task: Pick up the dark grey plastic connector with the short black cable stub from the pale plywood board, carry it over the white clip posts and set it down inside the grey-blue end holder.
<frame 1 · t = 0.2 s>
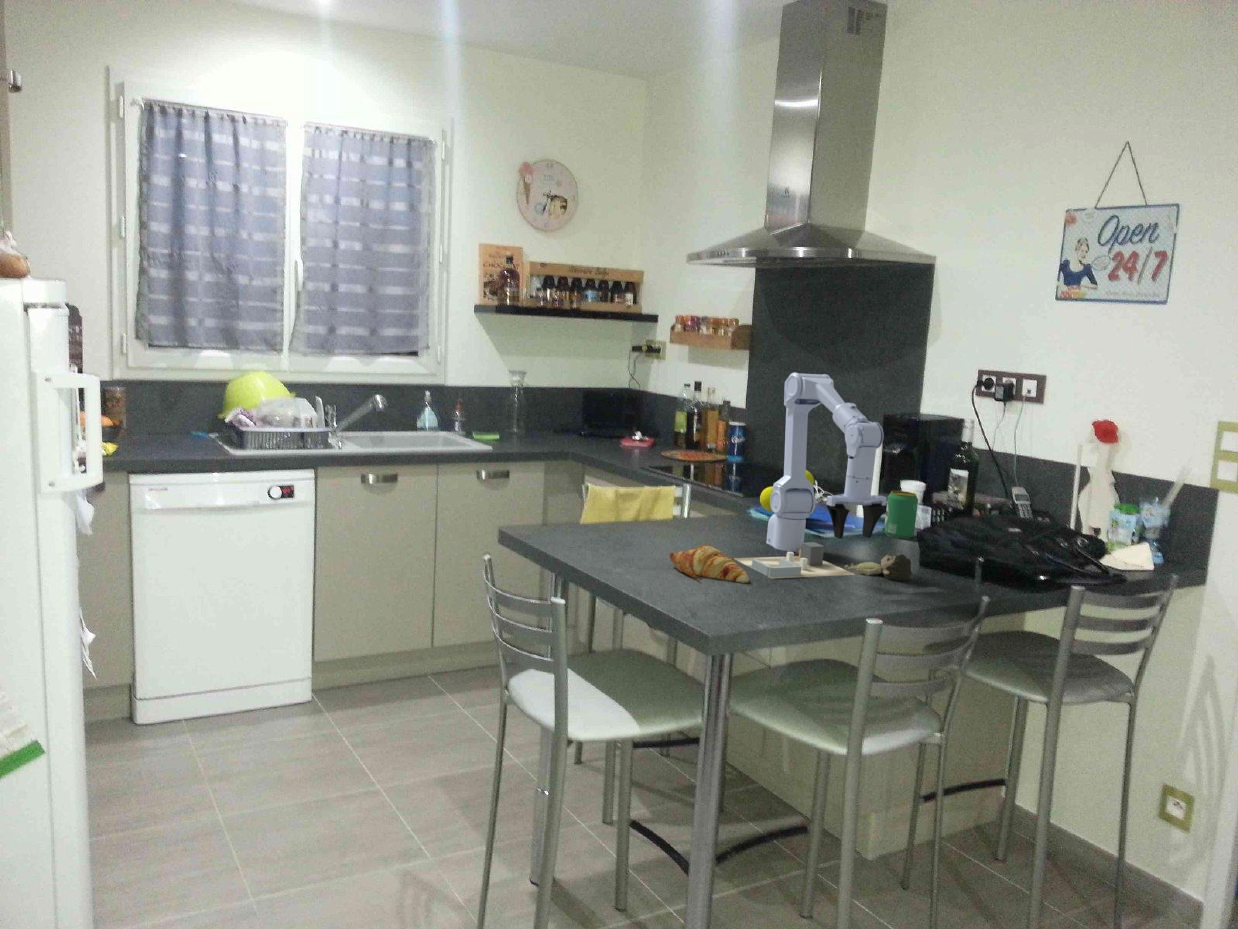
hand: (852, 537, 224), 10 cm above the table, tool pointing down, fingers open, 7 cm apart
route board: (793, 570, 230), on the table
figurine: (876, 579, 230), on the table
end holder: (775, 571, 224), resting on route board
croissant: (707, 578, 220), on the table
beverage can: (898, 536, 278), on the table
clip: (796, 565, 231), resting on route board
toy: (790, 522, 288), on the table
connector: (810, 563, 234), point 1 cm above the table, touching route board
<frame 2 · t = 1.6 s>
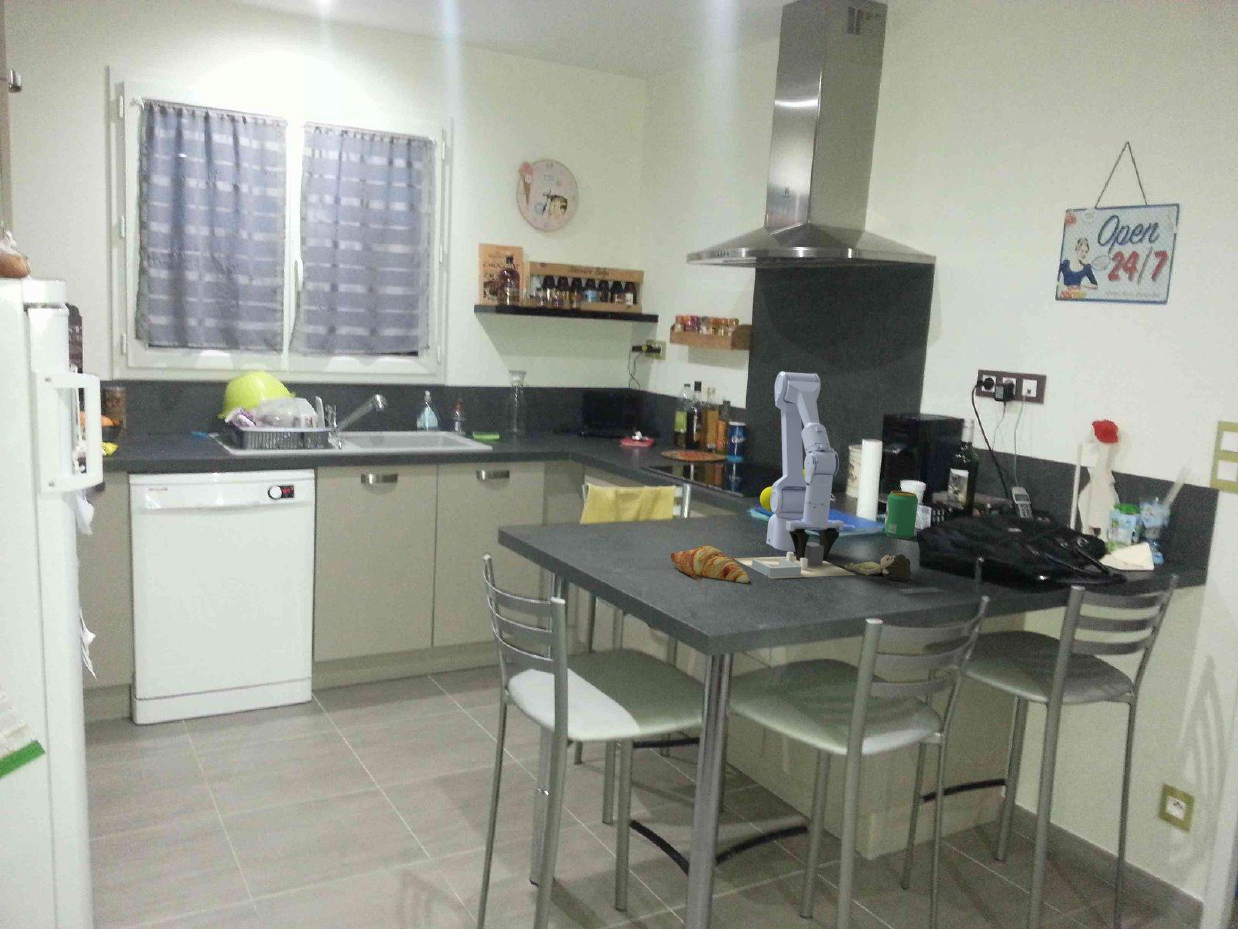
hand: (811, 560, 234), 2 cm above the table, tool pointing down, fingers open, 6 cm apart
nothing on the table moved.
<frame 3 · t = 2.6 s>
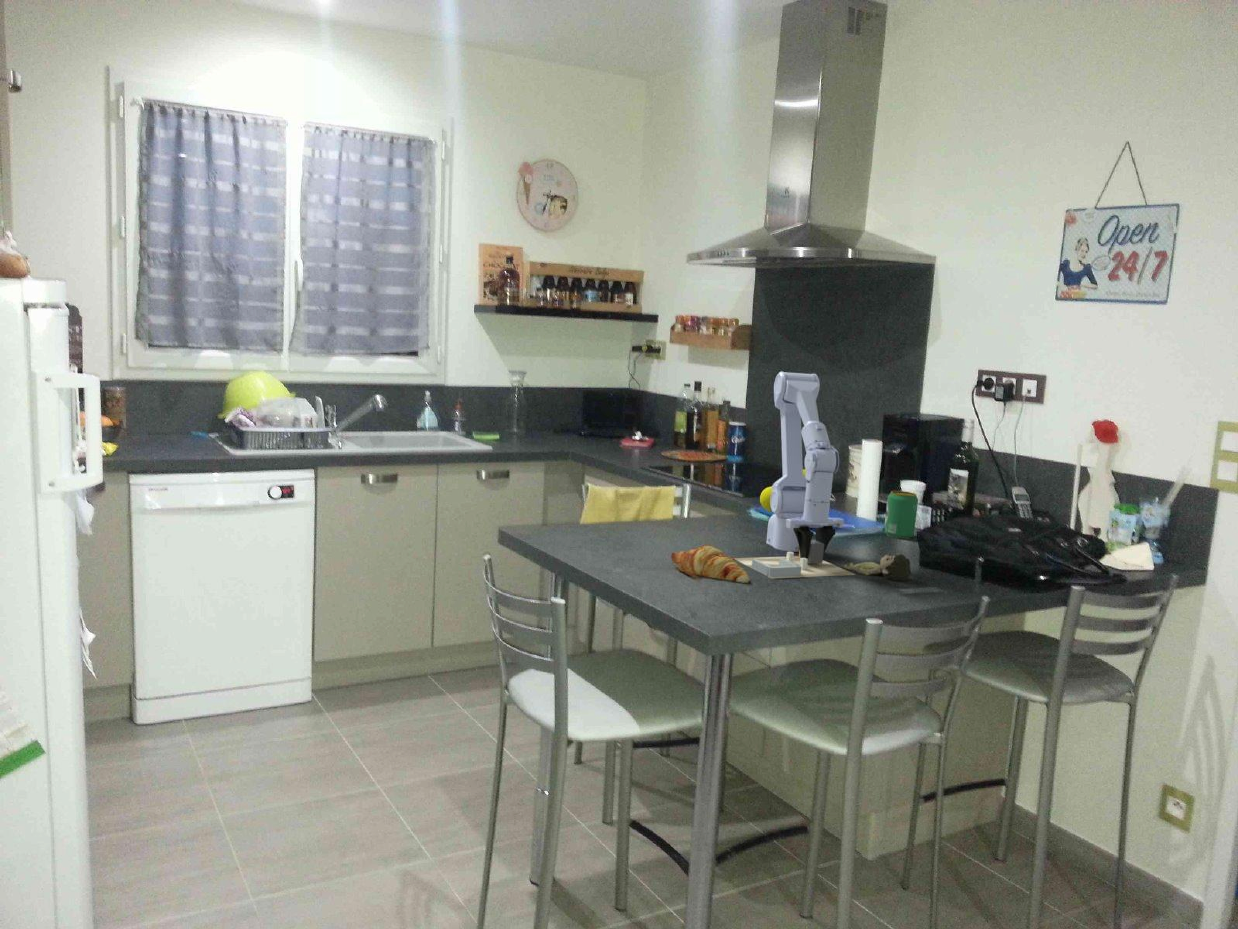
hand: (811, 557, 234), 2 cm above the table, tool pointing down, fingers closed on connector, 3 cm apart
connector: (811, 561, 234), point 2 cm above the table, touching gripper
everything else where it was.
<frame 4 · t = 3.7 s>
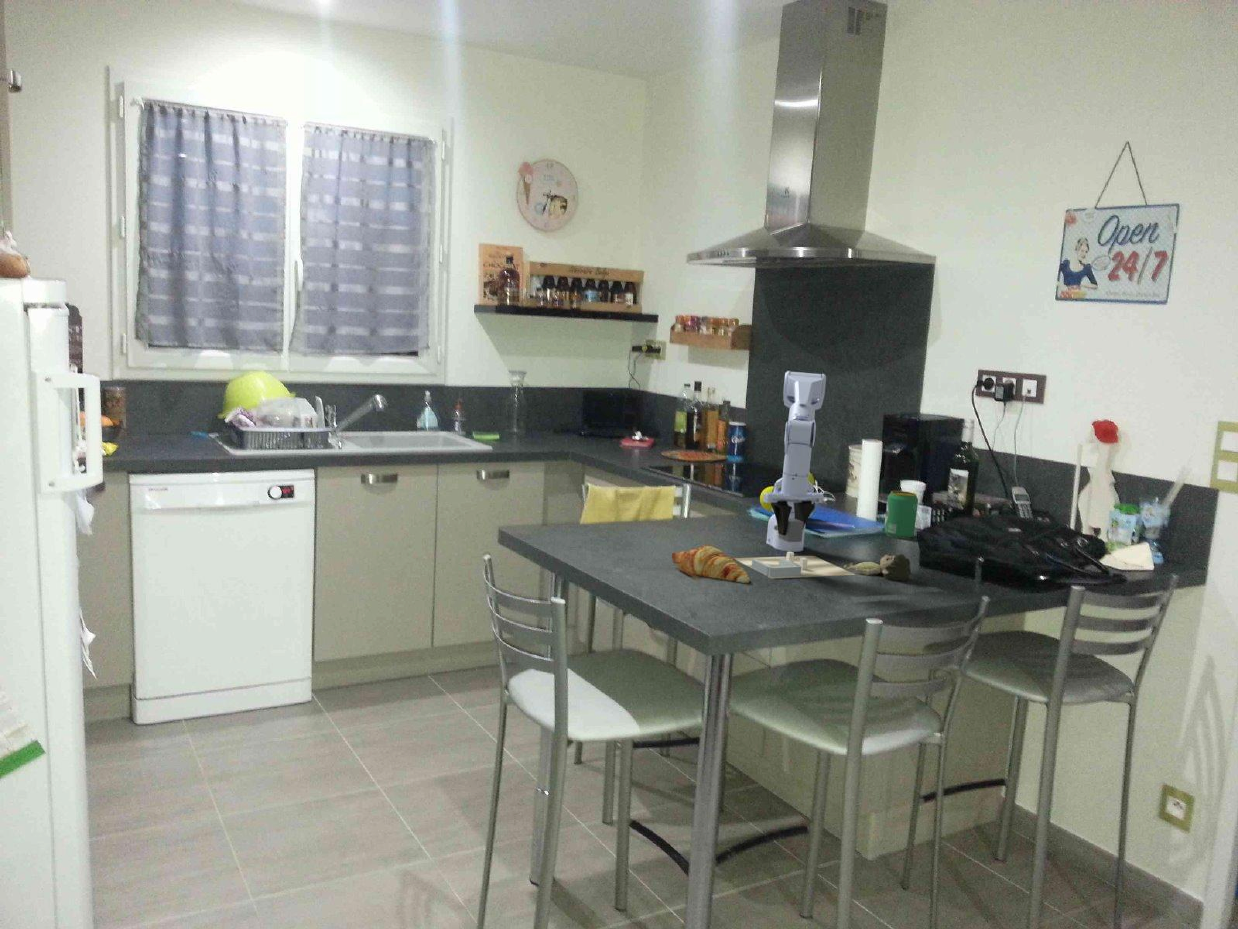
hand: (789, 534, 226), 9 cm above the table, tool pointing down, fingers closed on connector, 3 cm apart
connector: (789, 539, 226), point 8 cm above the table, touching gripper
everything else where it was.
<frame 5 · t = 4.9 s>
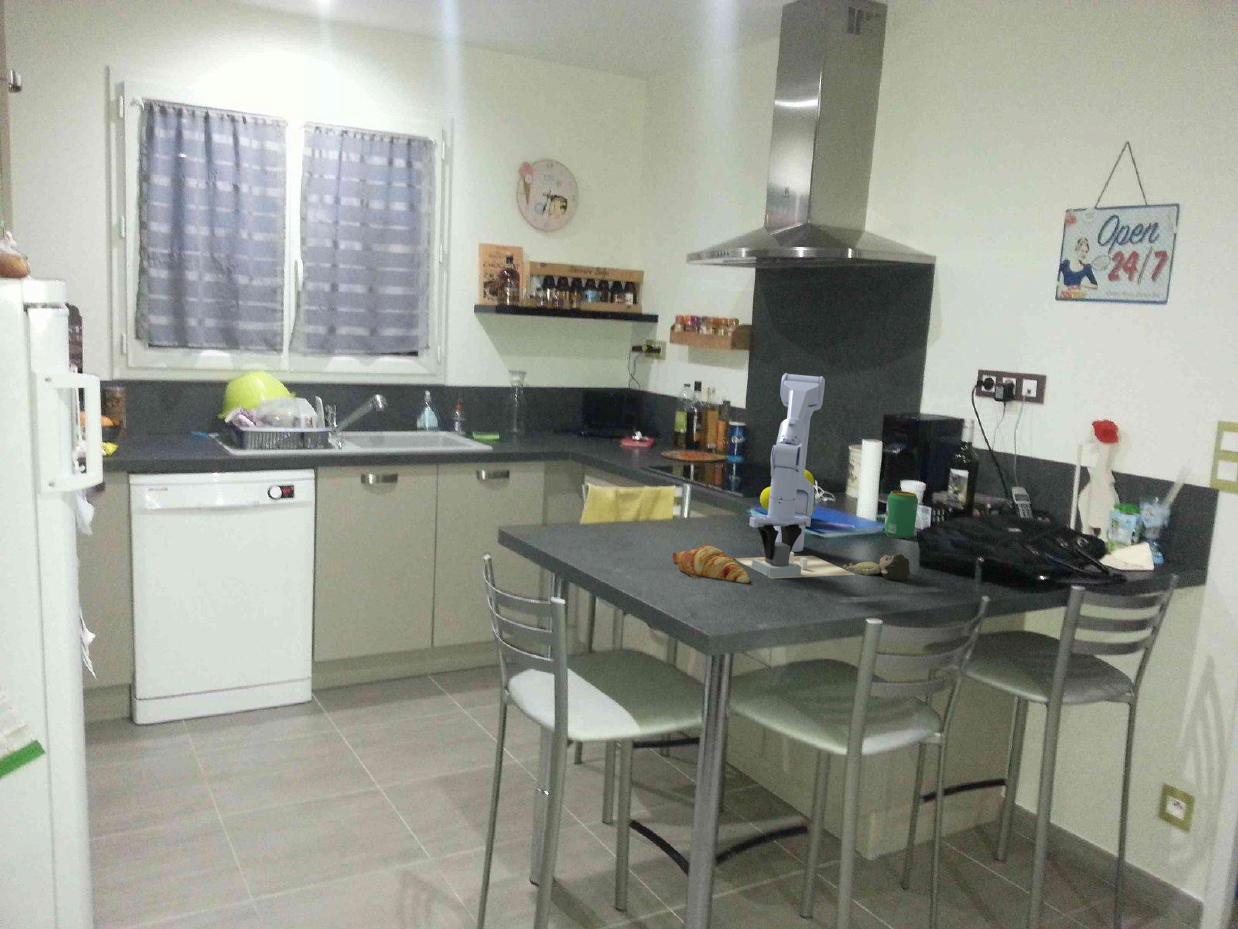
hand: (776, 558, 224), 4 cm above the table, tool pointing down, fingers closed on connector, 3 cm apart
connector: (776, 564, 224), point 3 cm above the table, touching gripper
everything else where it was.
when the fingers open (4 cm above the table, at t = 5.6 s): connector drops 2 cm, resting on route board.
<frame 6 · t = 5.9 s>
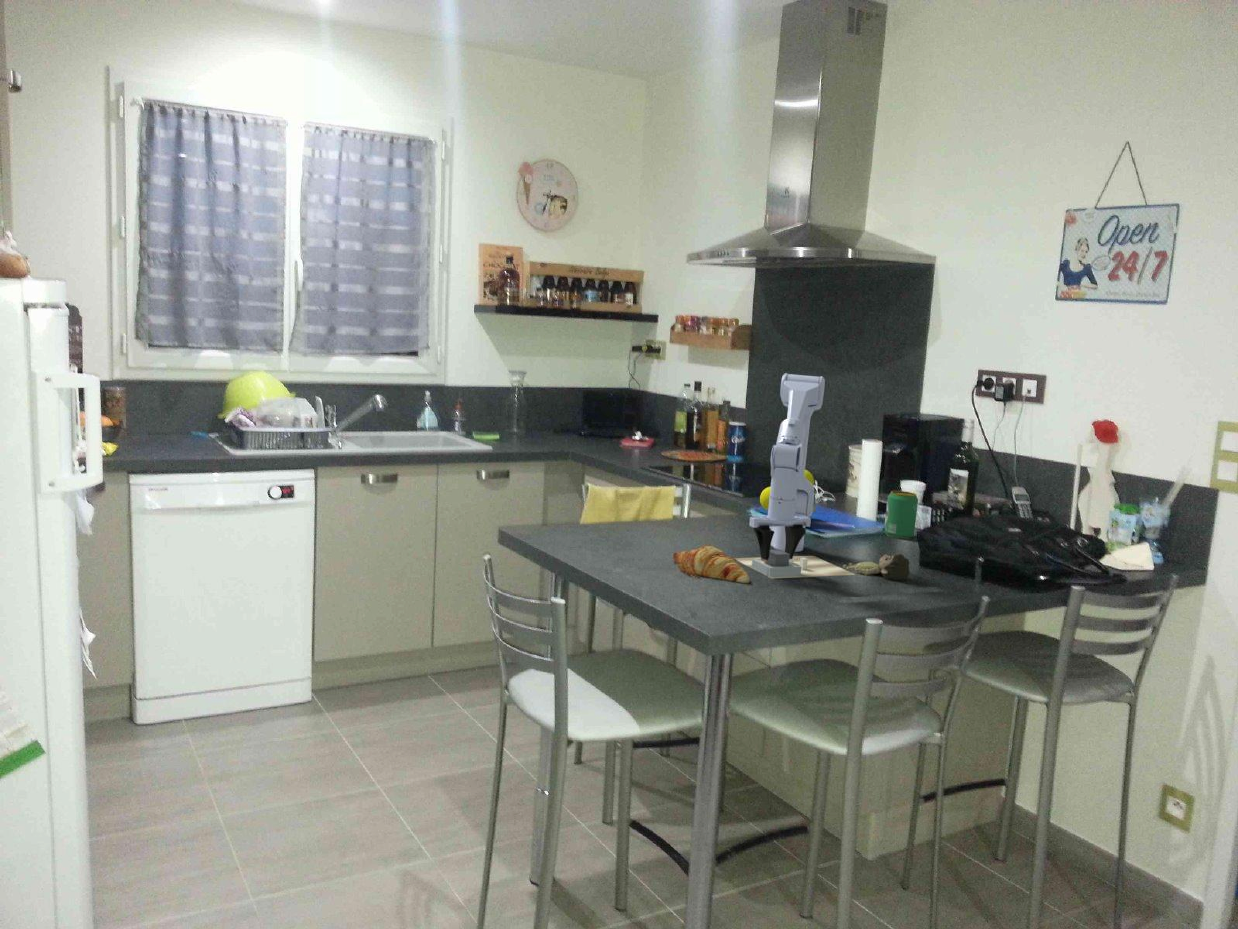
hand: (776, 558, 224), 4 cm above the table, tool pointing down, fingers open, 6 cm apart
connector: (776, 571, 224), point 1 cm above the table, touching route board
everything else where it was.
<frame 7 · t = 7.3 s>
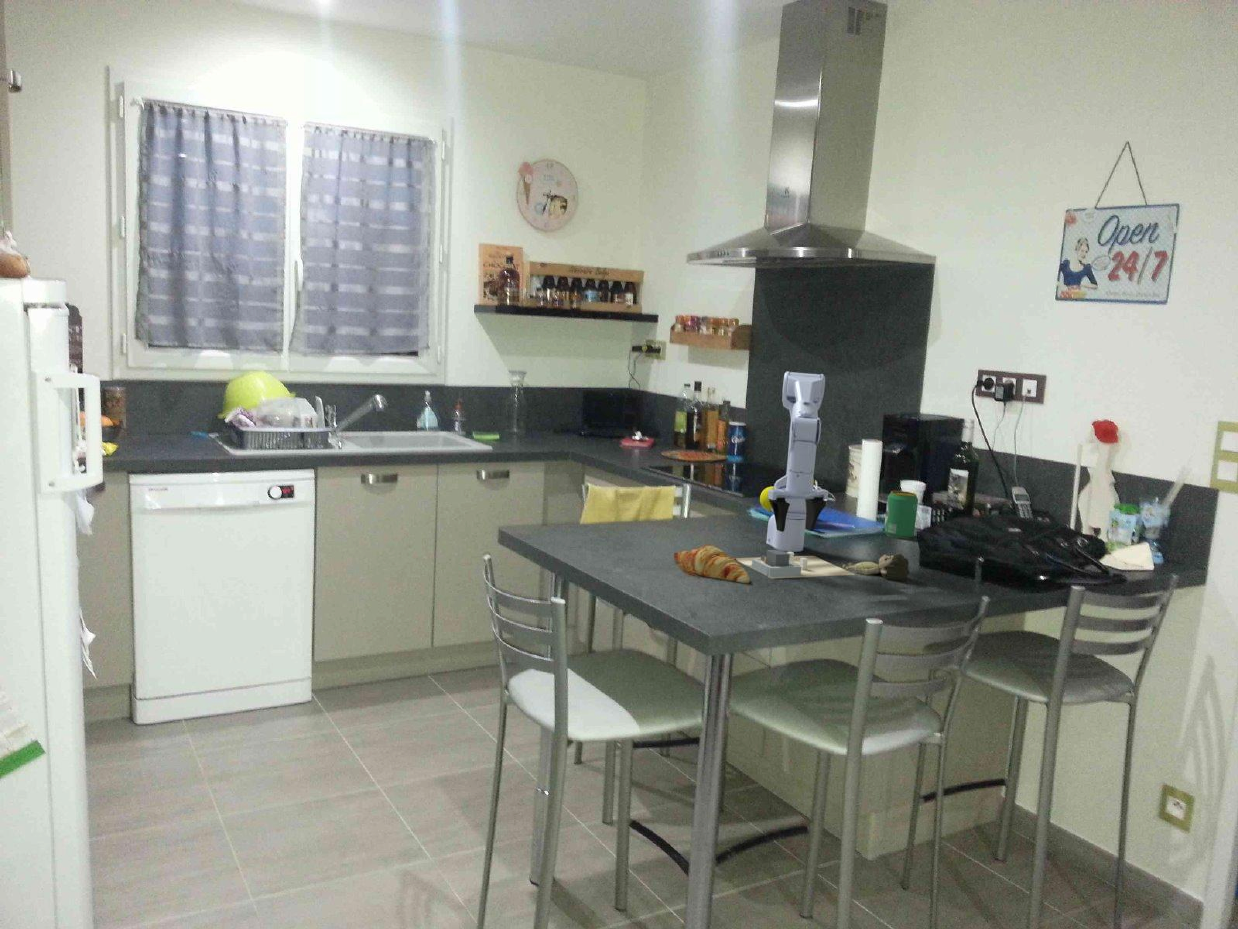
hand: (794, 530, 228), 9 cm above the table, tool pointing down, fingers open, 7 cm apart
nothing on the table moved.
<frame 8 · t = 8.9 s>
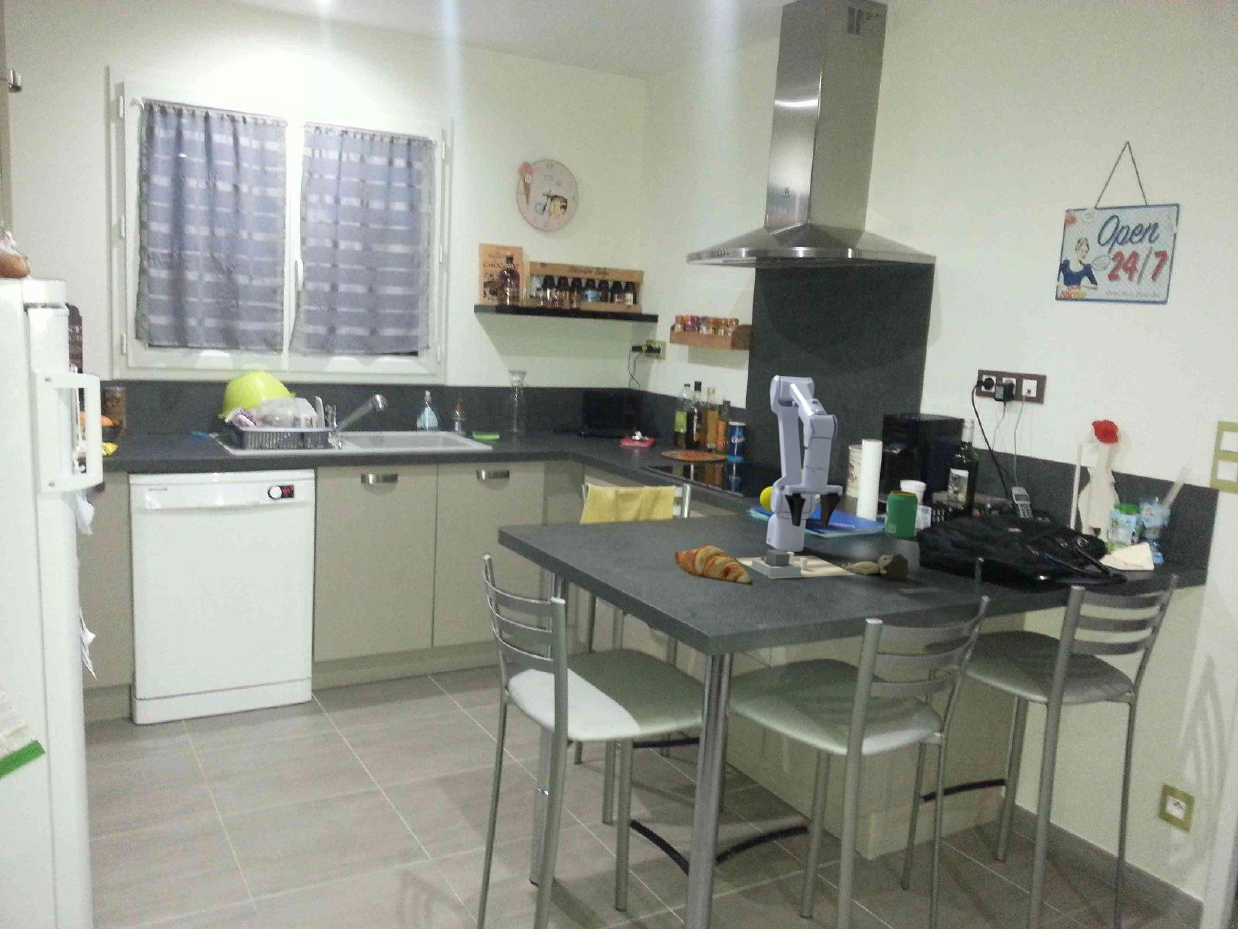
hand: (809, 525, 233), 10 cm above the table, tool pointing down, fingers open, 7 cm apart
nothing on the table moved.
at the end: connector inside the target area on the end holder (0.6 cm from its centre), point 0.0 cm above the end holder's base; connector tilted 0°; the gripper is holding nothing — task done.
